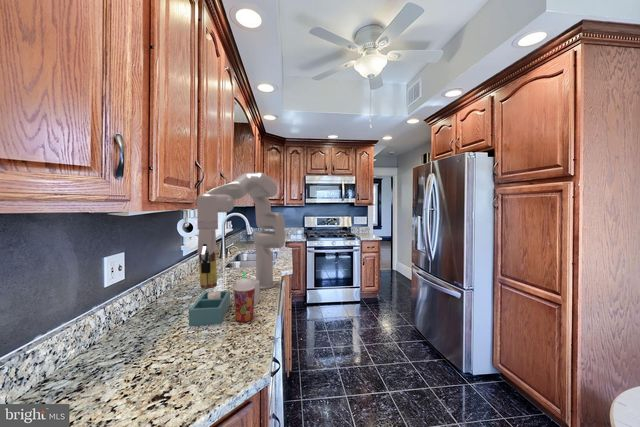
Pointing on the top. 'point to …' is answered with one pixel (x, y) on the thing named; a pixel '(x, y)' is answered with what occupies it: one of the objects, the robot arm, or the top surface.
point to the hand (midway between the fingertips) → (208, 270)
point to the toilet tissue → (257, 291)
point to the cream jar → (214, 295)
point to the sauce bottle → (209, 274)
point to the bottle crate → (209, 309)
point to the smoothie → (244, 299)
